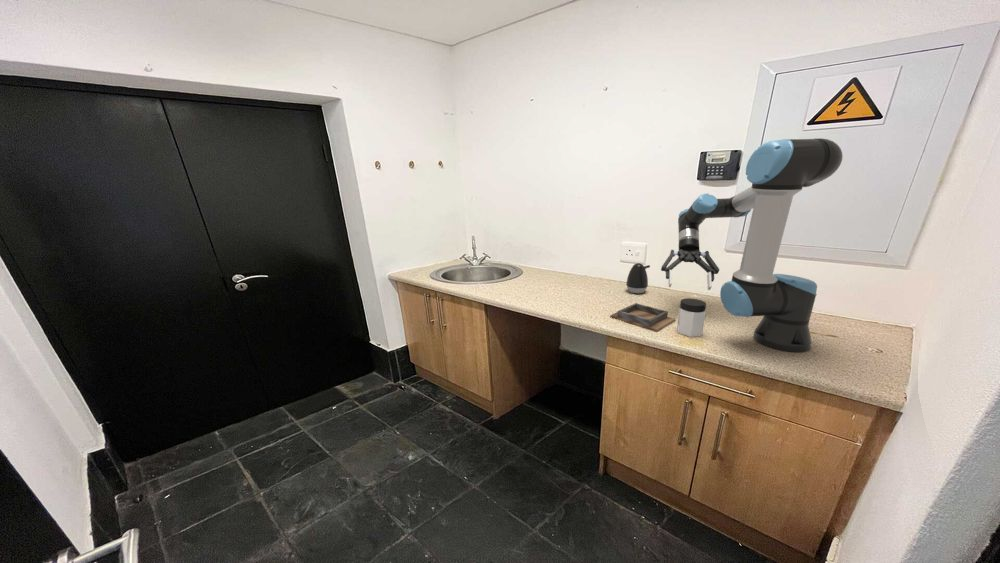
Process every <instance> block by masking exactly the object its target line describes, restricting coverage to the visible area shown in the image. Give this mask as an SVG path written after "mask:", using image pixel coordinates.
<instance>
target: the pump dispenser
mask: <svg viewBox="0 0 1000 563" xmlns="http://www.w3.org/2000/svg"><path fill="white" fill-rule="evenodd" d="M650 267H651V265H650V264H649V265H644V264H643V263H640V262H637V263H635V264H633V265H632V266H631V268H630V269H629V270H630V271H629V272H628V275H627V277H626V278H627V279H626V284H625V285H626V287H627V290H628V291H629V292H630V293H632V294H642V293H645V291H646V290H647V288H648V286H649V277H648V273H647V270H646V269H649V268H650Z"/></svg>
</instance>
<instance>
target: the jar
mask: <svg viewBox="0 0 1000 563" xmlns="http://www.w3.org/2000/svg"><path fill="white" fill-rule="evenodd" d="M706 308H707V303H706V302H705V301H703V300H702V299H698V298H697V299H696V298H691V297H690V298H688V297H687V298H682V299H681V300H680V303H679V309H678V318H677V325H676V329H677V333H678V334H679V335H683V336H687V337H691V338H693V337H702V336H703V332H704V331H703V330H704V325H705V316H706Z"/></svg>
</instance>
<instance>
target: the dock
mask: <svg viewBox="0 0 1000 563" xmlns="http://www.w3.org/2000/svg"><path fill="white" fill-rule="evenodd" d="M668 315H669V311H667V310H664V309H659V308H657V307H653V306H648V305H645V304H641V303H637V302H635V303H633V304H631V305H627V306H626V307H624V308H622V309H619V310H618V311H616V312H613V313H612V314H610V318H611V317H612V318H611V319H614V318H615V319H614V320H617V319H618V321H620V320H621V321H622V322H623V321H624V323H627V324H630V325H633V326H636V327H640V328H643V329H645V330H649V331H652V332H655V333H657V332H659V331H661V330H663V329H665V328H667V327H668V326H670V325H672V324H673V323H675V322H676V318H673V317H669V316H668Z"/></svg>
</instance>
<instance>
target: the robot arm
mask: <svg viewBox="0 0 1000 563" xmlns="http://www.w3.org/2000/svg"><path fill="white" fill-rule="evenodd" d="M842 161H843V151H842V149H841V147H840V146H839V145H838V143H836V142H834V141H833V140H831V139H827V138H803V139H802V138H799V139H798V138H797V139H794V138H791V139H789V138H787V139H785V138H784V139H776V140H770V141H766V142H764V143H762V144H761V145H760V146H758V148H757V149H755V150H754V151H753V152H752V154H751V155H750V156H749V159H748V161H747V162H746V166H745V175H746V179H747V181H748V182H750V183H751V186H750V187H749V188H746V189H744V190H743V191H741V192H739V193H737V194H735V195H733V196H731V197H729V198H728V197H727V198H725V197H724V198H717V197H716V196H715V195H713V194H710V193H703V194H700V195H699V196H698V197H697V198H696V199H695V200H694V201H693V202H692V203H691V205H690V207H689V208H686V209H684V210H681V211H680V212H679V213H678V218H677V219H678V220H677V224H678V228H677V229H678V251H676V250H674V249H671V250H670V252H669V255H668V256H667V258H666V260H665V261H664V262H663V263H662V266H661V268H660V271H662V272H665V279H666V280H668V288H672V285H673V277H672V276H673V275H672V274H673V269H674V268H675V267H677V266H678V265H679V264H681V263H682V262H684V263H692V264H693V263H696V265H698V266H699V267H701V268H702V269H703V270H704V271H705V272H706V273H707V275H706V278H707V279H706V282H707V291H710V290H711V289H712V287H713V286H712V283H713V282H714V280H715V275H717V274H718V275H719V272H720V268H719V266H718V265H717V264H716V263H715V261H714V260H713V258H712V257H711V255H710V252H709V250H705V251H704V252H703V251H700V233H699V232H700V225H701V224H702V223H703V222H704V221H705V220H706V219H719V218H740V217H741V218H742V217H746V216H747V215H749V214H750V212H751V211H752V213H751V218H750V221H749V222H750V223H749V226H748V230H747V234H746V238H745V239H746V240H745V244H744V247H743V248H744V249H743V253H742V256H741V262H740V266H739V269H737V270H736V271H734V272H733V273H732V278H731V280H730V281H727V282H724V283H723V284H722V286H721V287H720V292H719V294H720V295H719V297H720V301H721V303H722V306H723V308H724V309H725V310H726V311H727V312H728V313H729V315H732V316H734V317H745V318H750V317H762V319H761V320H760V321H759V323H758V324H757V326H756V327H755V329H754V331H753V339H754V340H755V341H757V343H759V344H762V345H763V346H766V347H769V348H772V349H775V350H779V351H785V352H792V353H803V352H807V351H809V350H811V347H812V336H811V331H810V328H809V325H810V320H811V318H812V317H811V316H812V314H813V313H812V312H813V308H814V304H815V301H816V296H817V295H818V294H817V289H818V285H817V283H816V282H815V281H814V280H811V279H809V278H805V277H801V276H796V275H790V274H783V273H774V271H775V267H776V265H777V264H776V263H777V258H778V256H779V252H780V248H781V245H782V240H783V236H784V232H785V228H786V226H787V221H788V218H789V214H790V209H791V206H792V201H793V197H794V196H795V195H797V194H798V193H799V192H801V191H803V188H809V187H811V186H814V185H816V184H819V183H820V182H823V181H825V180H826V179H828V178H829V177H831V176H833V174H835V173H836V172H837V170H838V169H839V167H840V166H841V164H842ZM676 256H677V259H676V260H674V261H673V262H672V263H671V261H672V260H673V258H674V257H676ZM702 258H703V259H702Z"/></svg>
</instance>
